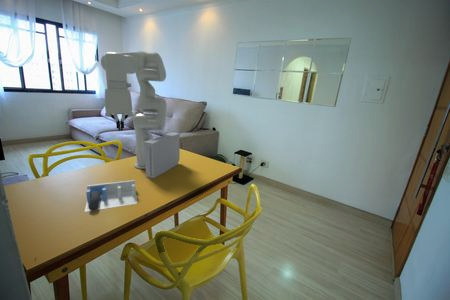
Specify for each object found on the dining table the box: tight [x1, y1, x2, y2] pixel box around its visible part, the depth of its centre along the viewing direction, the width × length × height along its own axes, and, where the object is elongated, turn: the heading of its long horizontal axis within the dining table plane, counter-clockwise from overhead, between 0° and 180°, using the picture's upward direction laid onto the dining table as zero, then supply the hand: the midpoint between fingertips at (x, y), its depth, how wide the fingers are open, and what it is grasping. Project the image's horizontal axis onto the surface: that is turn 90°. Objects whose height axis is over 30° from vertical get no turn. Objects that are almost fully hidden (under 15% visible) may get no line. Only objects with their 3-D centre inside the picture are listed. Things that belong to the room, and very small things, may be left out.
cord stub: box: [89, 191, 100, 211], centre depth 88 cm, size 10×3×3 cm, turn 25°
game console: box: [145, 131, 181, 179], centre depth 126 cm, size 6×27×20 cm, turn 162°
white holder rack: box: [84, 179, 138, 213], centre depth 93 cm, size 16×19×6 cm
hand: (120, 129), depth 93 cm, fingers closed
